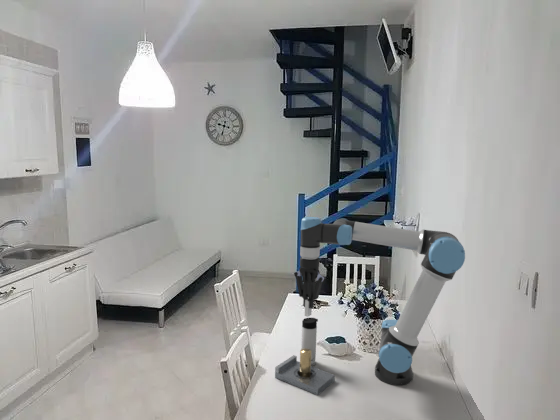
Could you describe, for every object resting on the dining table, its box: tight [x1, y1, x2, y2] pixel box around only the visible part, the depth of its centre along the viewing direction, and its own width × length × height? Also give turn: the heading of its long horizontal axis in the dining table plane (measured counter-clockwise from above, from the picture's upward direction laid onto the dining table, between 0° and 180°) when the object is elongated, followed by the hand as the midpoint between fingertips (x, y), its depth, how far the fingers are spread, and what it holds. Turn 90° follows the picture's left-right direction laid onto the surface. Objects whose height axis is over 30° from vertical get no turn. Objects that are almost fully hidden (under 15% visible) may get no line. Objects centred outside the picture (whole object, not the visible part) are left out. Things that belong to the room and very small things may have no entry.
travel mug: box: [300, 317, 319, 367], centre depth 184 cm, size 6×7×20 cm
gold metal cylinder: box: [299, 348, 311, 377], centre depth 171 cm, size 4×4×12 cm
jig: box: [274, 354, 336, 396], centre depth 171 cm, size 20×13×4 cm, turn 54°
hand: (308, 315), depth 169 cm, fingers closed
